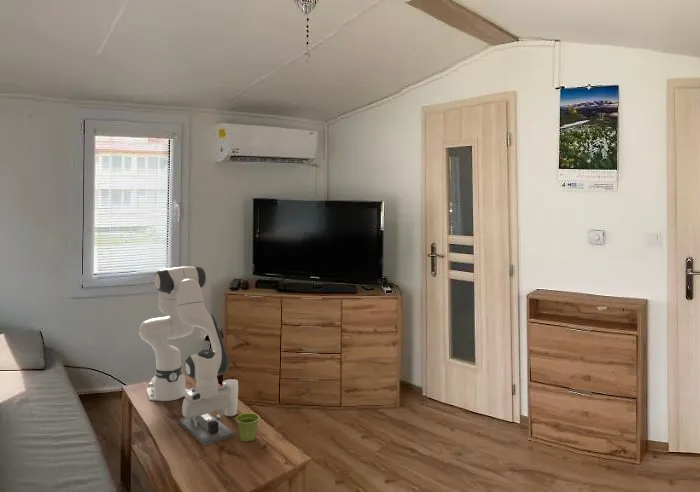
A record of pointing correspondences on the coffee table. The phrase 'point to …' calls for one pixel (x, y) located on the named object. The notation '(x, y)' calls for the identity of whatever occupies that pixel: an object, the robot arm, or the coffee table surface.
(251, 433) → the plant pot
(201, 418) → the jaw
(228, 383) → the white cup
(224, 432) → the plate
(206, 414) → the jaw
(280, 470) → the coffee table surface
